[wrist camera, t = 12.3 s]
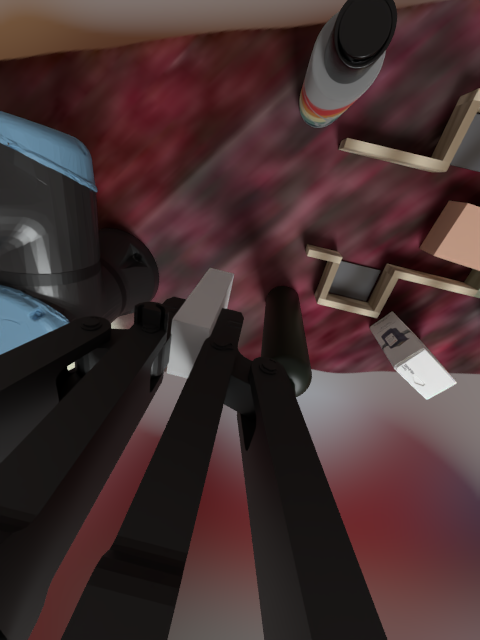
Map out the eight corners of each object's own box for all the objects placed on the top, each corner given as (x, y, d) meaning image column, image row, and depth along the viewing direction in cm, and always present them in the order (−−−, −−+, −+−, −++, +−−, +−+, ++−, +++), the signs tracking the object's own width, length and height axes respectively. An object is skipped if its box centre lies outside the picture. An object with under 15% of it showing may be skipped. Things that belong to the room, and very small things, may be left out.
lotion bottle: (298, 131, 36) (319, 90, 19) (298, 77, 34) (320, -30, 16) (343, 124, 35) (407, 75, 18) (346, 68, 33) (424, -56, 15)
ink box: (421, 340, 48) (460, 385, 38) (396, 355, 50) (427, 402, 40) (392, 309, 46) (425, 348, 36) (367, 327, 48) (392, 368, 38)
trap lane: (292, 289, 47) (293, 297, 44) (363, 73, 33) (372, 62, 30) (441, 326, 47) (452, 336, 44) (577, 124, 33) (608, 119, 30)
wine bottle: (261, 308, 49) (242, 460, 23) (273, 281, 46) (268, 418, 20) (290, 319, 50) (305, 482, 23) (304, 292, 47) (338, 442, 21)
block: (418, 248, 41) (433, 255, 38) (448, 200, 38) (467, 203, 34) (461, 262, 42) (480, 271, 38) (494, 215, 38) (519, 220, 34)
